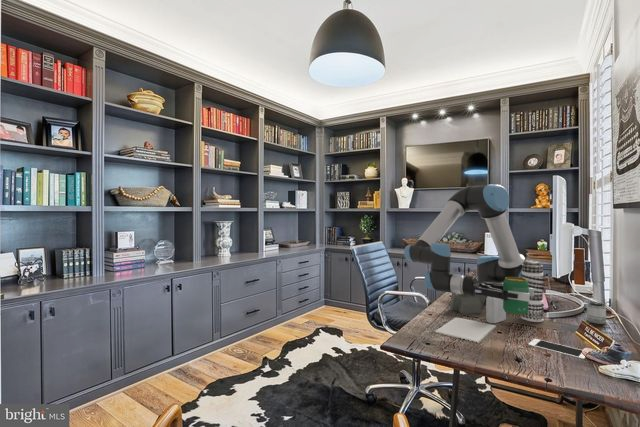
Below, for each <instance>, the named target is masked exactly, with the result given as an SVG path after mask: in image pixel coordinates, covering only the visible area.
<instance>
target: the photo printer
mask: <svg viewBox="0 0 640 427" xmlns="http://www.w3.org/2000/svg"><path fill="white" fill-rule="evenodd" d="M506 319H507V312H505V311H504V309H503V299H499V298H494V297H489V296H487V298H486V303H485V320H486V322H487V323H488V324H497V323H500V322H503V321H504V322H505V320H506Z"/></svg>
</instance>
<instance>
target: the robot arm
mask: <svg viewBox="0 0 640 427" xmlns="http://www.w3.org/2000/svg"><path fill="white" fill-rule="evenodd" d="M509 205H510V195H509V192H508V190H507V189H506V188H505V187H504V186H502V185H500V184H491V183H490V184H481V185H480V184H479V185H469V186H465V187H462V188H461V189H459V190H458V191H456V192H455V193H454V194H453V195H451V196H450V197H449V199H448V200H447V201H445V204H444V206H445V207H444V208H443V209H442V210H441V211H440V213H439V214H438V215H437V216H436V217H435V219H434V220H433V221H432V223H431V224H430V225H429V226H428V227H427V229H425V230H424V232H423V233H422V234H421V235H420V236H419V238H418V239H417V241H416V242H415V243H414V244H412V243H411V244H408V245H406V246H405V248H404V250H403V255H404V258H405V259H406V260H407V261H409V262H411V263H418V264H424V265H428V266H429V265H430V270H428V271H426V272H425V274H424V280H423V282H424V286H425V287H426V288H427V289H428V290H433V291H435V292H443V293H450V294H452V293H456V295H458V294H464V295H467V296H475V295H484V296H486V297H485V302H484V304H486V298H487V296H489V297H494V298H499V299H504V300H505V301H507V297H508V299H515V300H521V301H527V302H529V301H530V296H534V289H533V288H529V293H523V292H516V291H509V290H508V292H507V291H504V290H503V281H504V280H505V278H506V277H519V278H521V277H522V276H521V275H520V274H522V270H523V269H522V267H523V266H522V264H523V263H524V262H525V261H527V260H526V258H525V256H524V255H523V254H521V253H520V252H519V250H518V247H517V243H516V241H515V238H514V235H513V232H512V229H511V226H510V224H509V222H508V219H507V216H506V212H507V211H508V208H509ZM471 211H475V212H476V211H477V212H478V214H479V215H478V216H480V218H481V219H483V220H485V223H486V225H487V229H488V231H489V234H490V236H491V238H492V241H493V244H494V247H495V249H496V252H497V255H481V256H479V257H478V258H477V264H476V271H477V272H476V275H477V276H476V277H475V276H469V275H463V274H455V273H451V245H449V244H448V243H443V242H441V243H440V241H441V239H442V238H443V237H444V236H445V234H446V233H447V232H448V231H449V230H450V228H451V227H452V226H453V224H455V222H456V221H457V220H458V218H459V217H462V216H464V214H466V213H468V212H471Z"/></svg>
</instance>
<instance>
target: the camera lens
mask: <svg viewBox="0 0 640 427" xmlns="http://www.w3.org/2000/svg"><path fill="white" fill-rule="evenodd" d="M586 318H587V321H588V322H589V323H593V324H600V325H604V324H606V320H607V306H606V305H605V304H604V303H601V302H596V301H591V302H588V303H587V304H586Z"/></svg>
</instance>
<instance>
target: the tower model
mask: <svg viewBox="0 0 640 427" xmlns="http://www.w3.org/2000/svg"><path fill="white" fill-rule="evenodd" d="M522 266H523V267H522V269H523V270H522V274H520V275H521V276H522V277H521V278H524V279H527V282H528V283H529V288H533V289H534V296H530V301H529V305H528V312H527V314H526V315H520V318H521V319H522V320H525V321H528V322H532V323H534V322H535V323H542V322H544V317H545V316H544V314H545V312H544V310H545V308H544V306H545V304H544V299H543V297H544V296H543V295H544V293H545V292H544V291H543V290H544V289H545V287H544V286H545V283H544V281H546V279H545V277H546V275H544V270H543V269H544V268H543V266H544V265H543V264H542V263H541V262H540V261H537V260H526V261H525V262H524V263H523V264H522Z"/></svg>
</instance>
